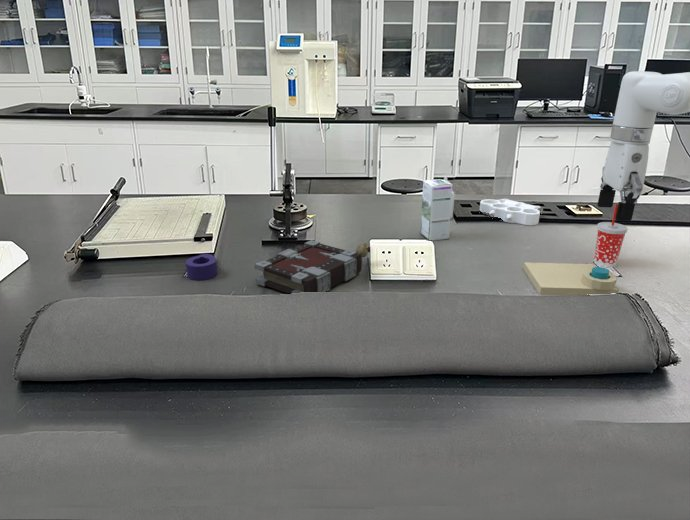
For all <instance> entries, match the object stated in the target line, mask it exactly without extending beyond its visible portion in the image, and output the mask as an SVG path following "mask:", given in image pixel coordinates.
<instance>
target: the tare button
mask: <svg viewBox="0 0 690 520" xmlns="http://www.w3.org/2000/svg"><path fill="white" fill-rule="evenodd" d="M609 273H611V271H610V270H609V269H608V268H607V267H603V266H596V267H594V268H592V272H591V276H592V277H594V278H597V279H608V277H609Z"/></svg>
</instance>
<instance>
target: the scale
mask: <svg viewBox="0 0 690 520" xmlns="http://www.w3.org/2000/svg"><path fill="white" fill-rule="evenodd" d="M594 267H597V265H596V264H595V263H570V262H569V263H567V262H566V263H563V262H562V263H561V262H529V261H528V262H523V267H522V270H523V271H524V273H525V274H526V276H527V277H528V279H529V280H530V282H531V283H532V285H533V286H534V289H536V291H537V292H538V294H539V295H540V296H541V295H544V296H545V295H546V296H547V295H548V296H577V295H587V294H588V295H589V294H611V293H618V292H619V289H618V288H617V286H616V284H617V280H618V277H617V276H616V275H615V274H614V273H611V272H609V277H608V279H597V278H594V277H592V276H591V272H592V268H594Z"/></svg>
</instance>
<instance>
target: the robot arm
mask: <svg viewBox="0 0 690 520" xmlns="http://www.w3.org/2000/svg"><path fill="white" fill-rule="evenodd" d="M657 113H661V114H664V115H672V116H676V115H682V114H687V113H690V71H688V72H687V71H686V72H678V73H677V72H676V73H666V74H662V73H661V72H656V71H644V70H643V71H642V70H639V71H637V70H635V71H629V72H626V73H625V74H624V75H623V76H622V79H621V83H620V88H619V91H618V97H617V101H616V107H615V111H614V117H613V121H612V126H611V131H610V135H609V141H610V144H609V147H608V150H607V154H606V159H605V162H604V166H602V171H601V172H602V173H601V174H602V176H601V179H600V181H601V183H600V187H599V188H600V189H599V195H598V199H597V204H596V205H597V207H598V208H612V207H613V205H614V200H615V197H616V192H619V196H620V201H618V203H617V204H618V208H617V212H616V217H615V221H616V222H631V221H632V219H633V216H634V211H635V208H636V205H637V203H638V199H639V198H640V197H641V193H642V191H643V190H644V184H645V180H646V174H647V168H648V163H649V153H650V144H651V138H652V135H653V130H654V126H655V122H656V119H657Z"/></svg>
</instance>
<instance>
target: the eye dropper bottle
mask: <svg viewBox="0 0 690 520" xmlns="http://www.w3.org/2000/svg"><path fill="white" fill-rule="evenodd" d="M443 180H445V181H447V182H449V183H451V182H450V181H449V180H448V177H447V176H444V177H443ZM455 195H456V194H455V192H454V191H453V190H452V198H451V213H450V220H452V219H453V218H454V209H455V207H454V206H455Z"/></svg>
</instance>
